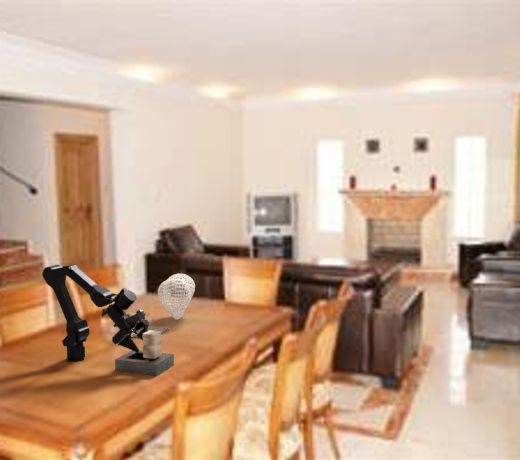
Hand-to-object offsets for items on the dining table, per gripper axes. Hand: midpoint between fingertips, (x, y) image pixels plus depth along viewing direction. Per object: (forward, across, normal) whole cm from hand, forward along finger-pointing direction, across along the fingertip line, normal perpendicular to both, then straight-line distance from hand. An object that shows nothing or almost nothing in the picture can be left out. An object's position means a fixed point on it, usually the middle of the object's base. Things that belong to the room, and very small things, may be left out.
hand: (144, 348), depth 224 cm
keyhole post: (+7, 0, +2) cm, 7 cm away
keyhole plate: (+5, 0, +5) cm, 7 cm away
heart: (-10, +69, +22) cm, 73 cm away
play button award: (-13, +42, +25) cm, 51 cm away
